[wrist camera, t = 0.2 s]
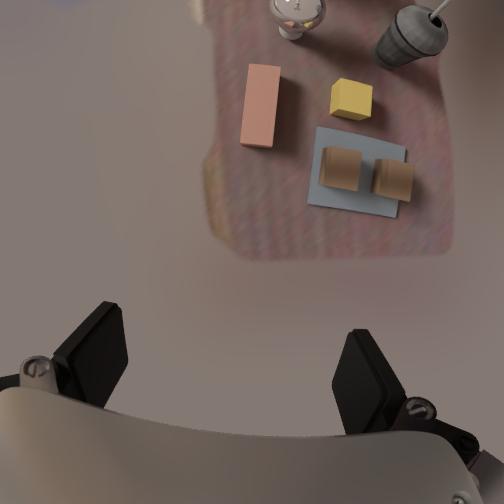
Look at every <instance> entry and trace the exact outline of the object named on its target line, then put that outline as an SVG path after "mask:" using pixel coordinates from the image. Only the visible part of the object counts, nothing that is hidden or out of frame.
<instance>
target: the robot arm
mask: <svg viewBox="0 0 504 504" xmlns="http://www.w3.org/2000/svg"><path fill="white" fill-rule="evenodd" d="M53 355H54V357H53V358H52V359H51V360H50V359H49V358H47V357H45V356H32V357H29V358H27V359H26V360H25V361H23V362H22V364H21V365H20V370H19V372H20V374H15V375H10V376H5V377H0V504H504V463H502V462H501V461H500V460H498V459H497V458H495V457H494V456H493V455H491V454H490V453H488V452H487V451H486V450H482V451H479V442H478V440H477V439H476V437H475V436H474V435H473V434H471V433H469V432H466V431H464V430H461V429H459V428H457V427H454V426H451V425H449V424H447V423H445V422H442V421H440V420H438V419H436V416H437V411H436V408H435V406H434V405H433V404H432V403H431V402H430V401H429V400H427V399H425V398H422V397H410V398H407V397H406V395H405V390H404V388H403V387H402V385H401V383H400V382H399V380H398V378H397V377H396V375H395V373H394V371H393V370H392V368H391V366H390V365H389V363H388V361H387V360H386V358H385V357H384V355H383V353H382V352H381V350H380V348H379V347H378V345H377V344H376V342H375V340H374V339H373V337H372V336H371V334H370V332H369V331H368V330H367V329H354V330H353V331H352V332H349V333H348V336H347V339H346V342H345V345H344V348H343V351H342V354H341V357H340V360H339V364H338V366H337V369H336V372H335V375H334V378H333V381H332V390H333V393H334V396H335V399H336V403H337V406H338V409H339V413H340V416H341V419H342V422H343V426H344V429H345V433H346V435H338V436H337V435H335V436H314V437H313V436H311V437H280V436H255V435H242V434H231V433H221V432H212V431H205V430H198V429H192V428H185V427H180V426H174V425H169V424H164V423H159V422H154V421H150V420H145V419H141V418H137V417H133V416H129V415H125V414H122V413H118V412H115V411H111V410H108V409H104V406H105V404H106V403H107V401H108V399H109V397H110V395H111V394H112V392H113V390H114V388H115V386H116V384H117V383H118V381H119V379H120V377H121V376H122V374H123V372H124V370H125V369H126V367H127V364H128V354H127V348H126V341H125V334H124V326H123V318H122V310H121V308H120V307H118V305H117V304H116V303H112V302H107V301H104V302H102V303H101V304H100V305H99V306H98V307H97V308H96V309H95V310H94V311H93V312H92V313H91V314H90V315H89V316H88V317H87V318H86V319H85V320H84V321H83V322H82V323H81V325H80V326H79V327H78V328H77V329H76V330H75V331H74V332H73V333H72V334H71V335H70V336H69V337H68V338H67V339H66V340H65V341H64V342H63V343H62V345H61V346H60V347H59V348H58V349H57V350H56V351H55V352H54V353H53Z"/></svg>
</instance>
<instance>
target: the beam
mask: <svg viewBox="0 0 504 504" xmlns="http://www.w3.org/2000/svg"><path fill="white" fill-rule="evenodd" d="M280 69H281V67H278V66H269V65H259V64H249V70H248V78H247V87H246V95H245V103H244V112H243V121H242V130H241V139H240V144H241V145H244V146H255V147H264V148H271V147H272V144H273V135H274V126H275V116H276V107H277V97H278V88H279V78H280Z"/></svg>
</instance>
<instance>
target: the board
mask: <svg viewBox="0 0 504 504" xmlns="http://www.w3.org/2000/svg"><path fill="white" fill-rule="evenodd" d="M329 146H336V147H341V148H346V149H351V150H355V151H360V152H362V159H361V168H360V175H359V183H358V190H357V191H353V190H348V189H342V188H336V187H330V186H325V185H321V184H318V181H319V173H320V165H321V157H322V148H325V147H329ZM404 157H405V147H404V146H400V145H397V144H393V143H390V142H386V141H382V140H378V139H374V138H370V137H366V136H362V135H358V134H353V133H349V132H344V131H340V130H335V129H330V128H324V127H319V126H317V127H316V136H315V145H314V154H313V162H312V170H311V178H310V186H309V194H308V201H307V203H308V204H312V205H320V206H327V207H333V208H340V209H346V210H353V211H359V212H365V213H371V214H377V215H383V216H388V217H394V218H396V214H397V208H398V202H399V199H394V198H390V197H385V196H381V195H377V194H374V193H370V192H371V185H372V178H373V171H374V162H375V159H393V160H397V161H401V162H404Z"/></svg>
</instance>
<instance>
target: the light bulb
mask: <svg viewBox="0 0 504 504" xmlns="http://www.w3.org/2000/svg"><path fill="white" fill-rule="evenodd" d="M268 8H269V13H270V15H271V17H272V19H273V20H274V21H275V22H276V23H277V24H278V25H279V26H280V28H279V31H280V33H281V35H282V36H283V37H284V38H286V39H289V40H296V39H298V38H300V37H301V35H302V33H303V32H304V31H309V30H311V29H314V28H315V27H317V26H318V25H319V24H320V23H321V22H322V21H323V19H324V18H325V14H326V4H325V1H324V0H269V3H268Z"/></svg>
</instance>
